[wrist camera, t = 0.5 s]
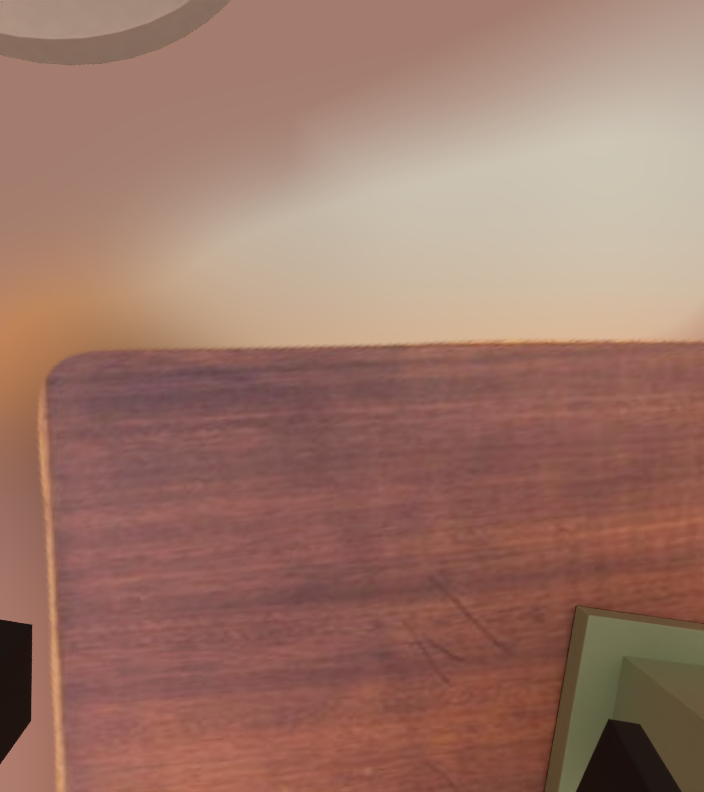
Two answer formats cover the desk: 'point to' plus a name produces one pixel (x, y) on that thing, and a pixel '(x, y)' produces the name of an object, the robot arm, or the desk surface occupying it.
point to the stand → (631, 693)
